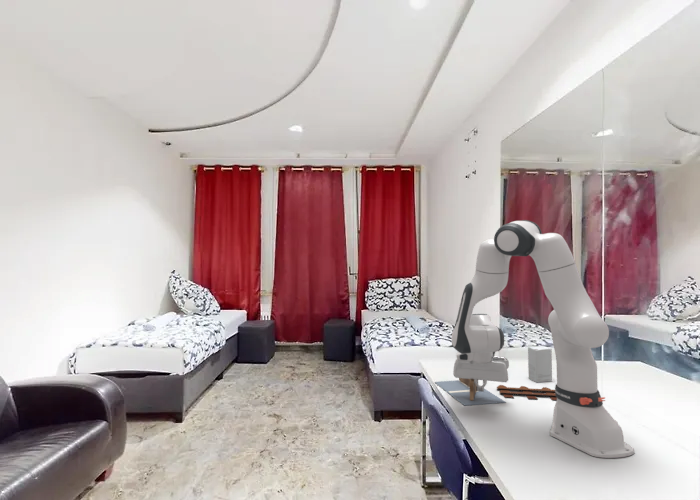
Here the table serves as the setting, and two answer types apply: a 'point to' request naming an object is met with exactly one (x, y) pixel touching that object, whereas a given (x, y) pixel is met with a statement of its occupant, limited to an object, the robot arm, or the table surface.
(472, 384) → the swing panel
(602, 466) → the table surface
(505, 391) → the decorative fence
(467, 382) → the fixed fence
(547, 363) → the skincare box
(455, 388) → the card
